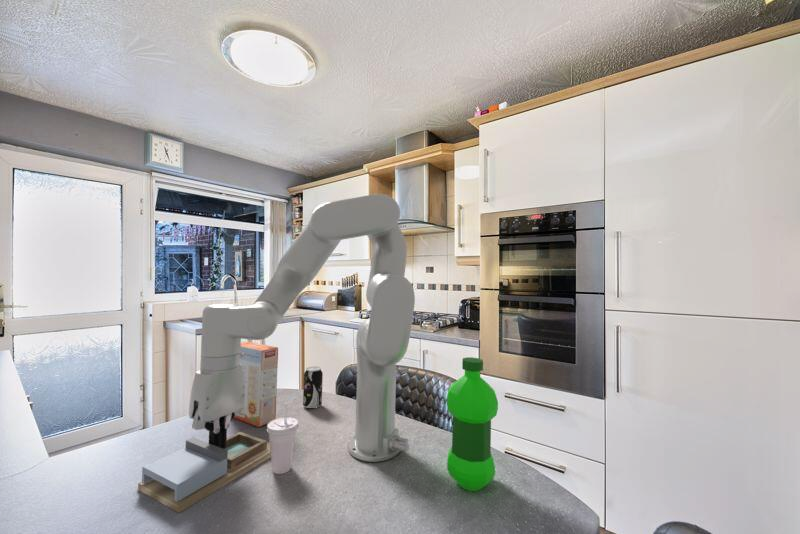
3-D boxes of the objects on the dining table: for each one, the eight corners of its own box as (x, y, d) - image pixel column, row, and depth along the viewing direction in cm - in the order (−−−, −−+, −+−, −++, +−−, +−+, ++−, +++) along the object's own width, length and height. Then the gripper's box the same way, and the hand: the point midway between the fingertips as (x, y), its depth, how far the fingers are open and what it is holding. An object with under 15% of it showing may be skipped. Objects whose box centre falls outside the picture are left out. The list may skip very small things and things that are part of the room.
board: (280, 451, 78) (281, 438, 78) (178, 512, 58) (179, 495, 58) (242, 437, 84) (243, 425, 84) (138, 489, 63) (138, 473, 63)
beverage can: (319, 410, 102) (320, 371, 102) (300, 410, 102) (301, 370, 102) (323, 403, 108) (324, 365, 108) (305, 402, 108) (307, 365, 108)
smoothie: (287, 480, 67) (289, 410, 68) (258, 475, 69) (261, 407, 69) (302, 462, 74) (304, 399, 74) (276, 458, 75) (278, 396, 75)
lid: (226, 473, 67) (227, 450, 67) (176, 501, 58) (177, 475, 58) (192, 458, 72) (193, 437, 72) (141, 482, 63) (142, 458, 63)
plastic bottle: (465, 505, 61) (468, 369, 62) (435, 474, 71) (438, 356, 71) (507, 491, 65) (509, 364, 66) (473, 463, 75) (475, 352, 76)
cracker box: (277, 420, 94) (279, 346, 95) (258, 428, 89) (260, 350, 90) (247, 409, 102) (249, 340, 102) (228, 415, 96) (230, 343, 97)
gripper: (239, 352, 80) (236, 430, 79) (173, 367, 66) (169, 460, 66) (261, 357, 76) (258, 437, 76) (197, 373, 63) (193, 471, 63)
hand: (217, 448), depth 71 cm, fingers closed
